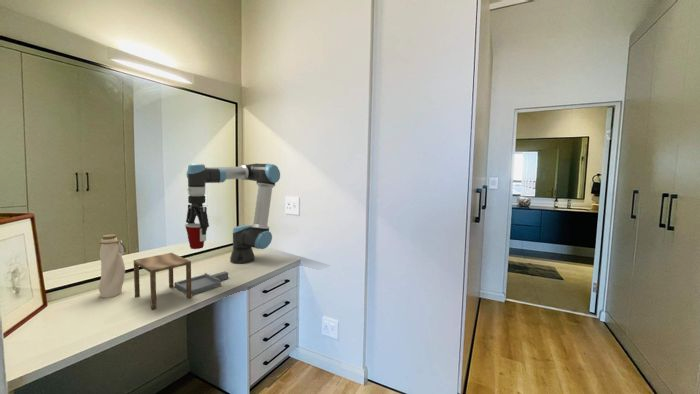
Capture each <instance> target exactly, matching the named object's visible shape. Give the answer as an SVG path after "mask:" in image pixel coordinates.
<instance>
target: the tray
mask: <svg viewBox="0 0 700 394" xmlns="http://www.w3.org/2000/svg"><path fill="white" fill-rule="evenodd" d="M228 279H229V272H228V271H222V272H218V273H215V274H209V273H207V272H205V273H204V274H201V275H198V276H193V277H191V296H193V295H196V294H198V293H202V292H206V291H208V290H212V289H215V288H219V287H221V286H222V282H221V281H223V280H228ZM174 288H175V289H178V290H179V291H181V292H183V293H184V294H186V295H187V292H186V279H182V280H179V281H175V282H174Z"/></svg>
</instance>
